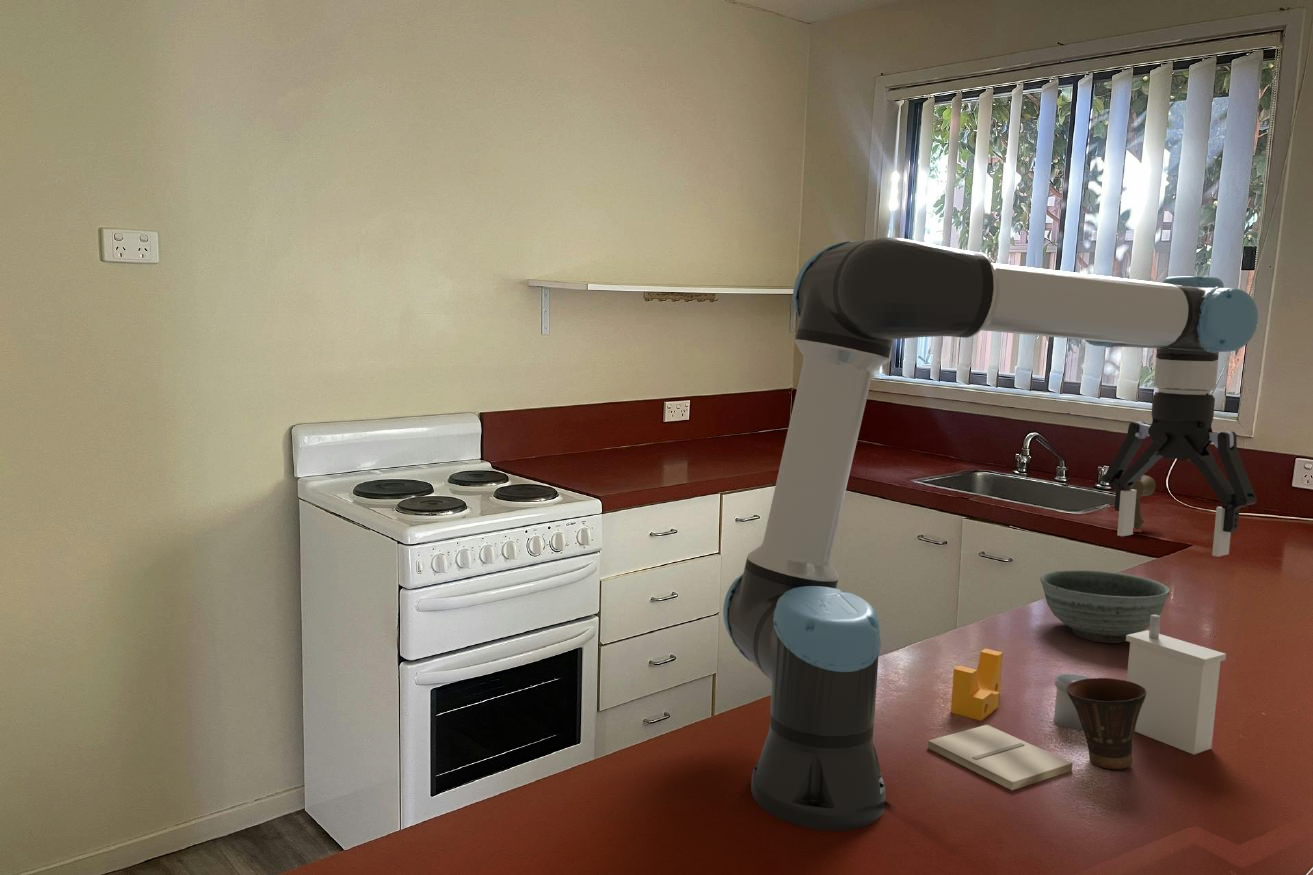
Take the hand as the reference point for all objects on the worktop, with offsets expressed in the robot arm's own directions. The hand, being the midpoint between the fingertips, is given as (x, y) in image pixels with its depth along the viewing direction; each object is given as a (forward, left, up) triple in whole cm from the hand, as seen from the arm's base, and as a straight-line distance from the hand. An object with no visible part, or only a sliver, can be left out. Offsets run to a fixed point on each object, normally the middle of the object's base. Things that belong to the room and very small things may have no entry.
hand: (1170, 544), depth 140 cm
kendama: (+109, +74, -25) cm, 135 cm away
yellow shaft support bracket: (-20, +14, -25) cm, 35 cm away
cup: (-22, -6, -25) cm, 33 cm away
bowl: (+25, +26, -25) cm, 44 cm away
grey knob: (-14, +3, -24) cm, 28 cm away
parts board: (-33, 0, -24) cm, 41 cm away
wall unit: (-7, -6, -24) cm, 26 cm away
